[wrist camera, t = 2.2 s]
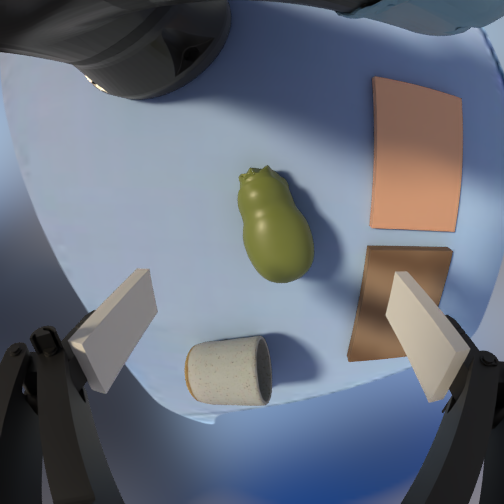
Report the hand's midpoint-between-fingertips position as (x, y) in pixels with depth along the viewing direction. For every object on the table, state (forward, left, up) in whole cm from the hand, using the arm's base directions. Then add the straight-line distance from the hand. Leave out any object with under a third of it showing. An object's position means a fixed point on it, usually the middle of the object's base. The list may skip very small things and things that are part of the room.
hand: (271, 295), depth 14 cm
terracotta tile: (-7, +14, -12) cm, 20 cm away
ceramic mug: (+16, -4, -12) cm, 21 cm away
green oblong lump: (-1, 0, -13) cm, 13 cm away
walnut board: (+9, +14, -12) cm, 21 cm away
